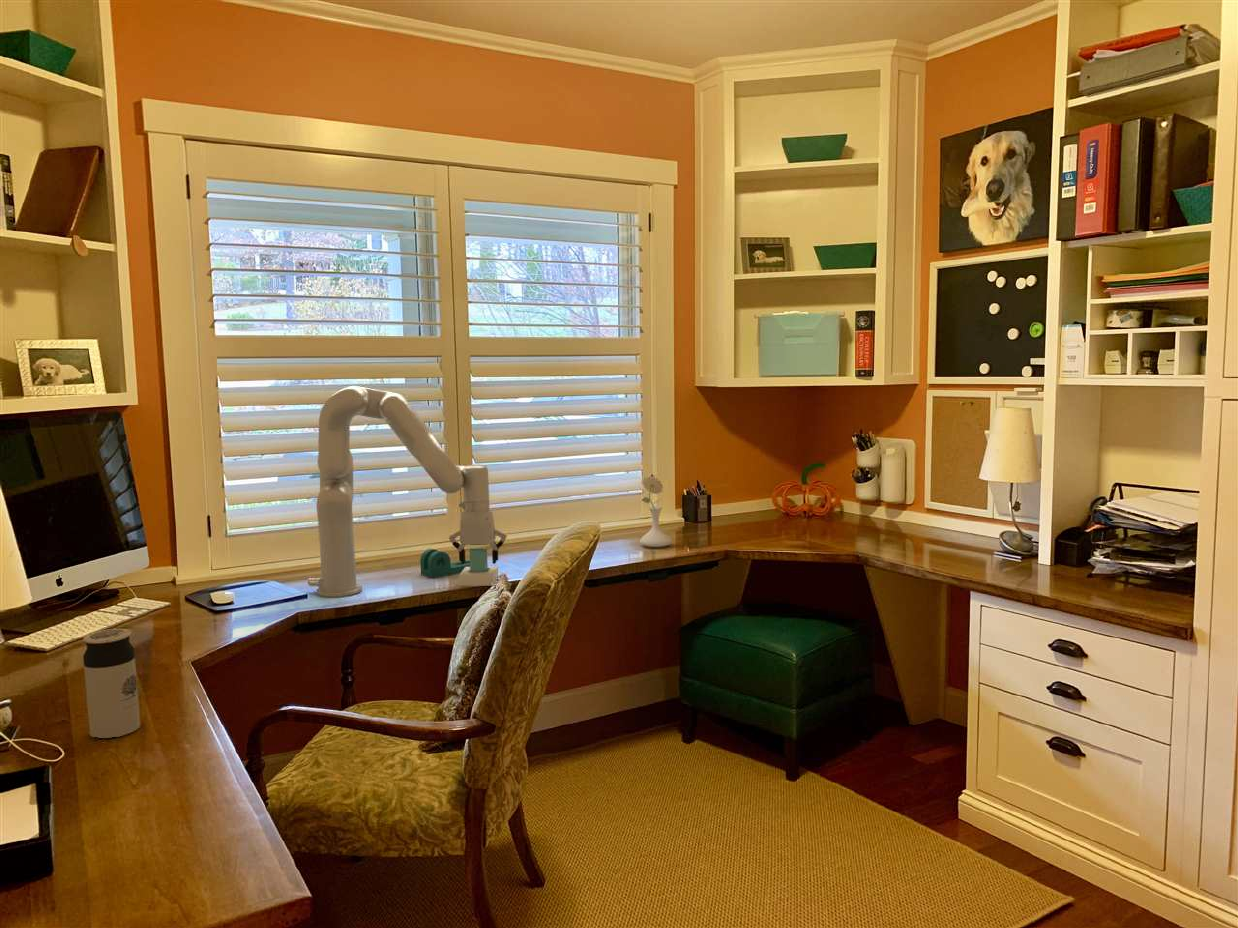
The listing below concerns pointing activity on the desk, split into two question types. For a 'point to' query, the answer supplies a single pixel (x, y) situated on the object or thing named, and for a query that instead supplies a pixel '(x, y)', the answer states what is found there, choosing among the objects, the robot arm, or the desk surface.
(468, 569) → the pocket block
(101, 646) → the travel mug
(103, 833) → the desk surface
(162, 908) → the desk surface
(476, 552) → the teal peg
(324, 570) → the robot arm
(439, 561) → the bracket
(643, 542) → the flower in vase
